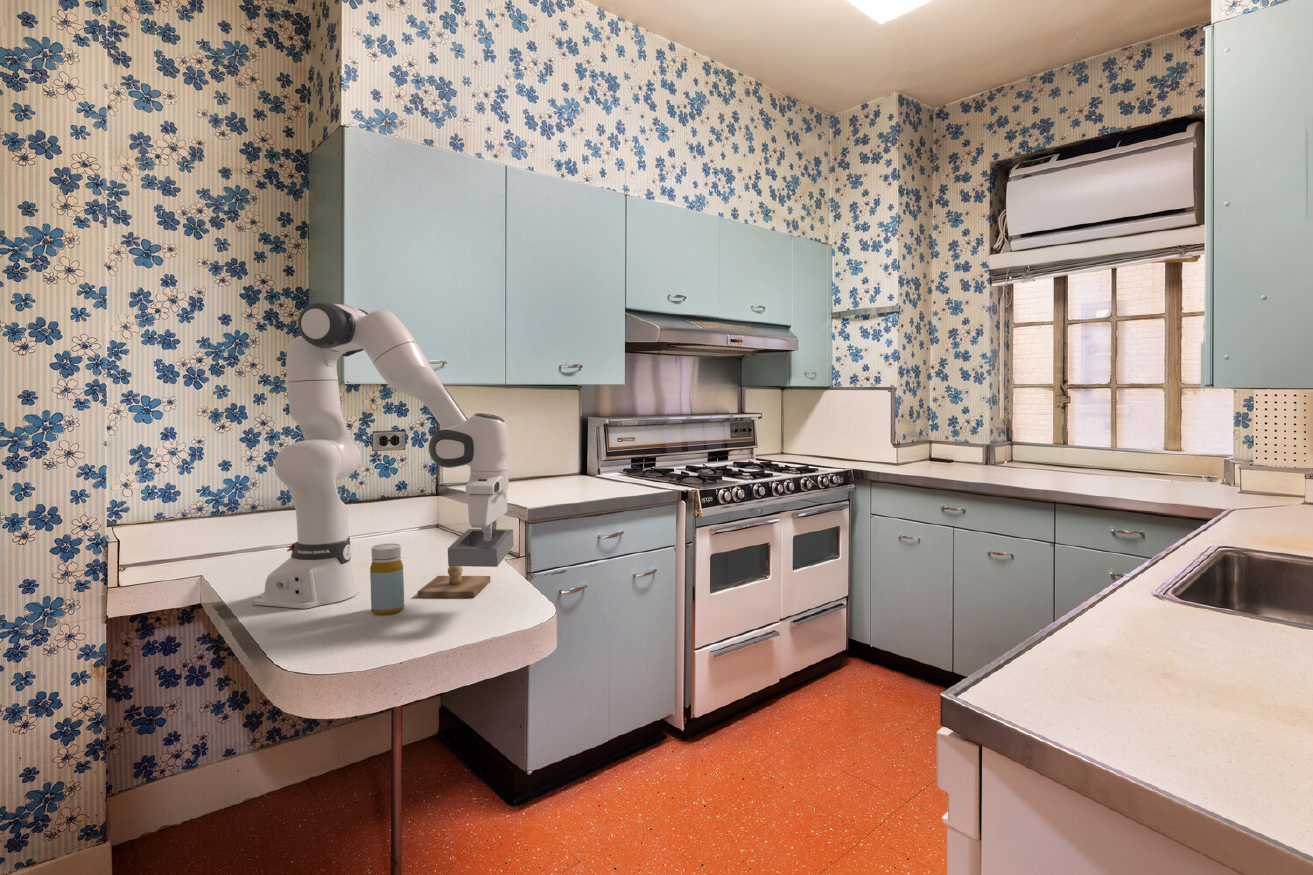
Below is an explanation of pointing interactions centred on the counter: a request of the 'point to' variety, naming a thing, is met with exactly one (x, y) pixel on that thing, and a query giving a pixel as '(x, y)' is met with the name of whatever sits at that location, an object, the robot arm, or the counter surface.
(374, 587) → the bottle
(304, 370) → the robot arm
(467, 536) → the grey open tray
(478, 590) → the keeper
